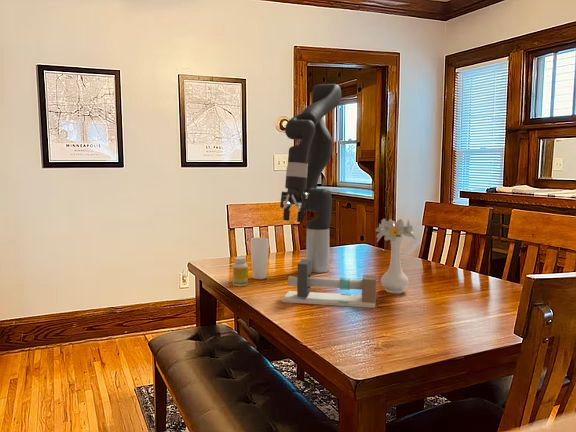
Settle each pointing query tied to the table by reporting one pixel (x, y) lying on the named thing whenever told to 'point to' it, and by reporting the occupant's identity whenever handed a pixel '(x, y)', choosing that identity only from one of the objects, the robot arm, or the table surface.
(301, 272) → the collar
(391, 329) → the table surface
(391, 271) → the flower vase
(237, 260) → the supplement bottle
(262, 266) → the drinking glass
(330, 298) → the pipe stand
